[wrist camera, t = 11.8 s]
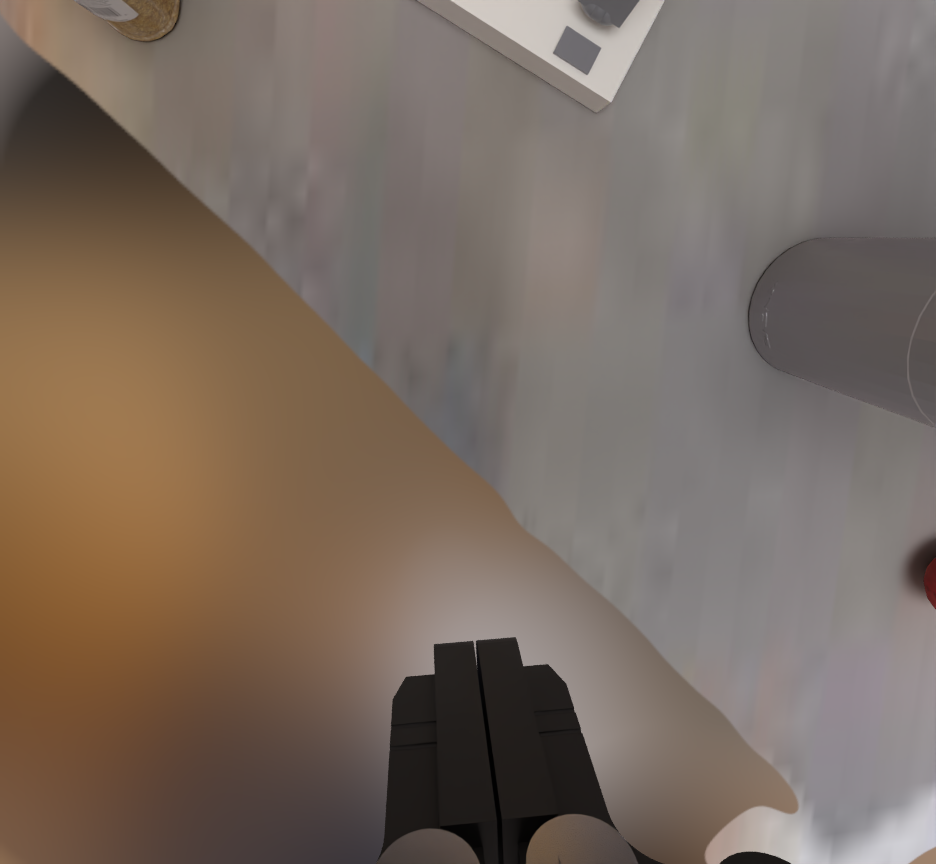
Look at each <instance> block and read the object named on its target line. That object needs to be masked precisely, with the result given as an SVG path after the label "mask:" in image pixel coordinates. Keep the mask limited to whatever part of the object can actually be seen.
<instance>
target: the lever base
mask: <svg viewBox="0 0 936 864" xmlns="http://www.w3.org/2000/svg"><path fill="white" fill-rule="evenodd" d="M417 1H418V2H420V3H422V4H423V5H425V6H426V7H428V8H430V9H431V10H433V11H434V12H436V13H438V14H439V15H441V16H442V17H444V18H445V19H447V20H449V21H450V22H452V23H453V24H455V25H457V26H458V27H460V28H461V29H463V30H465V31H466V32H468V33H469V34H471V35H473V36H474V37H476V38H477V39H479V40H481V41H482V42H484V43H485V44H487V45H489V46H490V47H492V48H493V49H495V50H496V51H498V52H500V53H501V54H503V55H504V56H506V57H508V58H509V59H511V60H512V61H514V62H516V63H517V64H519V65H520V66H522V67H524V68H525V69H527V70H528V71H530V72H532V73H533V74H535V75H536V76H538V77H540V78H541V79H543V80H544V81H546V82H547V83H549V84H551V85H552V86H554V87H555V88H557V89H559V90H560V91H562V92H563V93H565V94H567V95H568V96H570V97H571V98H573V99H575V100H576V101H578V102H579V103H581V104H583V105H584V106H586V107H587V108H589V109H591V110H592V111H594V112H595V113H597V112H599V111H600V110H601V109H603V108H604V107H606V106H607V105H608V104H610V103H611V102H612V100H613V98H614V96H615V94H616V92H617V90H618V88H619V87H620V85H621V83H622V81H623V79H624V77H625V75H626V73H627V71H628V69H629V68H630V66H631V64H632V62H633V60H634V58H635V56H636V54H637V52H638V50H639V48H640V47H641V45H642V43H643V41H644V39H645V37H646V35H647V33H648V31H649V29H650V28H651V26H652V24H653V22H654V20H655V18H656V16H657V14H658V12H659V10H660V8H661V7H662V5H663V3H664V1H665V0H639V2H638V3H637V5H636V6H635V7H634V9H633V10H632V11H631V13H630V14H629V16H628V17H627V18H626V20H625V21H624V22H623V24H622V25H621V26H620V28H618V27H616V26H615V25H611V26H605V25H601V24H599V23H598V22H596V21H595V20H593V19H592V18H590V17H589V16H588V15H586V13H585V12H584V11H583V9H582V6H581V3H580V2H579V1H577V0H417Z"/></svg>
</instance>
